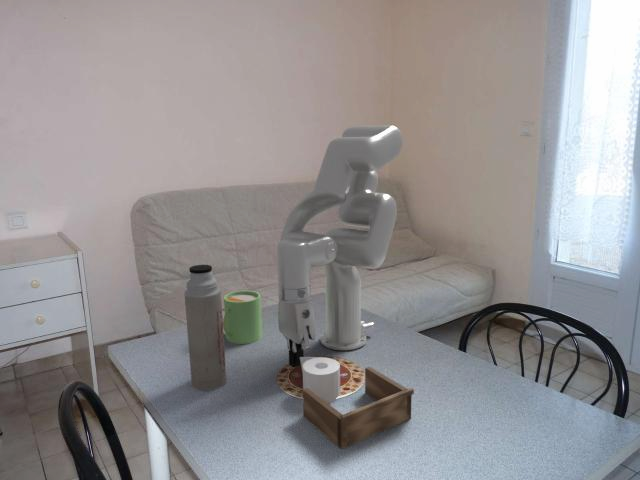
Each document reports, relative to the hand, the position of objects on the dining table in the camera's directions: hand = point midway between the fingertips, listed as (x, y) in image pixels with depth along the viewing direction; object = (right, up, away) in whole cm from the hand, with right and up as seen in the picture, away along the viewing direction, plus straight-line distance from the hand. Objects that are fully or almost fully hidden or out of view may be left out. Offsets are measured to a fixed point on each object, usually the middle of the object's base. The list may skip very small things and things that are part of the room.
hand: (296, 364), depth 122 cm
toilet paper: (+6, -4, -7) cm, 10 cm away
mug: (-17, +2, +22) cm, 27 cm away
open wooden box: (+13, -6, -18) cm, 23 cm away
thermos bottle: (-20, -3, -3) cm, 21 cm away
